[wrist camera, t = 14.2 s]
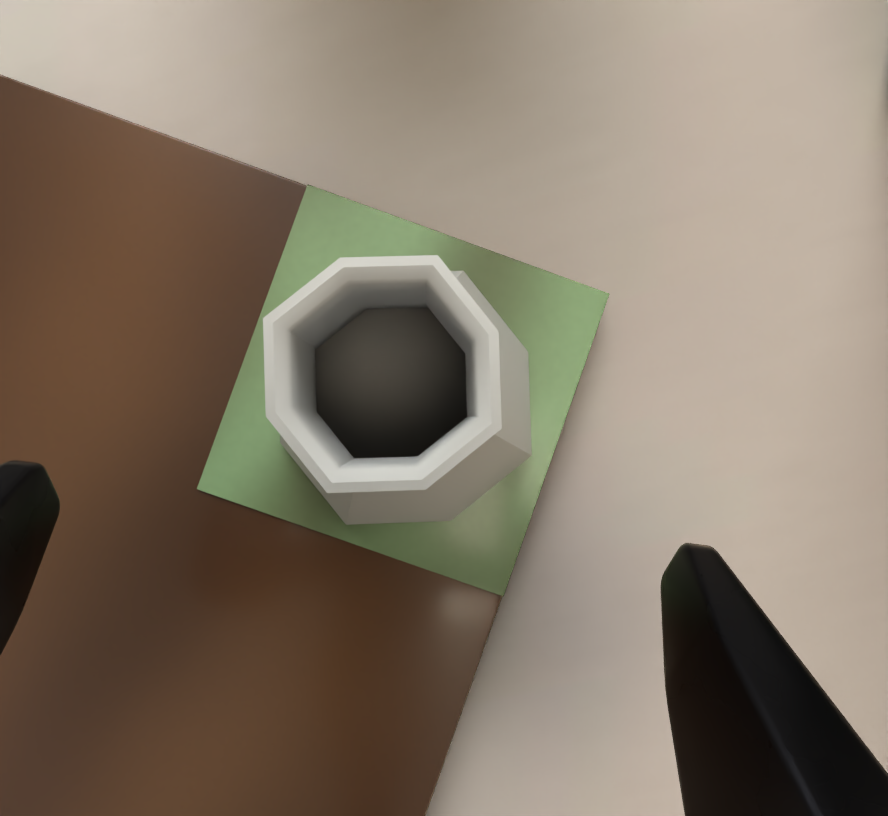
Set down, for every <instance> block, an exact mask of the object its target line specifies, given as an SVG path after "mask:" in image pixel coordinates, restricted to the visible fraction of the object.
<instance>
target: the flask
mask: <svg viewBox="0 0 888 816" xmlns="http://www.w3.org/2000/svg"><path fill="white" fill-rule="evenodd" d="M263 338H264V374H265V409H266V417H267V419H268V420H269V421H270V422H271V424H272V425H273V426H274V427H275V429H276V430H277V431H278V432H279V434H280V443H281V444H282V446H283V447H284V448H285V449H286V451H287V452H288V453H289V454H290V456H291V457H292V458H293V459H294V461H295V462H296V463H297V464H298V466H299V467H300V468H301V469H302V471H303V472H304V473H305V474H306V476H307V477H308V478H309V479H310V481H311V482H312V483H313V484H314V486H315V487H316V488H317V489H318V490H319V492H320V493H321V494H322V495H323V497H324V498H325V499H326V500H327V502H328V503H329V504H330V505H331V507H332V508H333V509H334V510H335V512H336V513H337V514H338V515H339V517H340V518H341V519H342V520H343V522H344V523H345V524H346V525H351V524H379V523H406V522H433V521H451V520H452V519H454V518H455V517H456V516H457V515H459V514H460V513H461V512H462V511H464V510H465V509H466V508H467V507H468V506H470V505H471V504H472V503H473V502H475V501H476V500H477V499H478V498H480V497H481V496H482V495H483V494H485V493H486V492H487V491H488V490H490V489H491V488H492V487H493V486H494V485H496V484H497V483H498V482H499V481H501V480H502V479H503V478H504V477H506V476H507V475H508V474H509V473H511V472H512V471H513V470H514V469H515V468H517V467H518V466H519V465H520V464H522V463H523V462H524V461H525V460H527V459H528V458H529V457H530V456H532V450H531V420H530V390H529V361H528V351H527V350H526V348H525V347H524V346H523V345H522V343H521V342H520V341H519V340H518V338H517V337H516V336H515V335H514V333H513V332H512V331H511V330H510V328H509V327H508V326H507V325H506V323H505V322H504V321H503V320H502V318H501V317H500V316H499V315H498V313H497V312H496V311H495V310H494V308H493V307H492V306H491V305H490V303H489V302H488V301H487V300H486V298H485V297H484V296H483V295H482V293H481V292H480V291H479V290H478V288H477V287H476V286H475V285H474V283H473V282H472V281H471V280H470V278H469V277H468V276H467V275H466V273H465V272H464V271H450V270H449V268H448V267H447V266H446V265H445V263H444V262H443V261H442V260H441V258H440V257H439V256H438V255H421V256H381V257H340V258H339V259H338V260H336V261H335V262H334V263H332V264H331V265H330V266H329V267H327V268H326V269H325V270H324V271H322V272H321V273H320V274H318V275H317V276H316V277H315V278H313V279H312V280H311V281H310V282H308V283H307V284H306V285H304V286H303V287H302V288H301V289H299V290H298V291H297V292H296V293H294V294H293V295H292V296H291V297H289V298H288V299H287V300H285V301H284V302H283V303H282V304H280V305H279V306H278V307H277V308H275V309H274V310H273V311H271V312H270V313H269V314H268V315H266V316H265V317H264V318H263Z"/></svg>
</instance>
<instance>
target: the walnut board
mask: <svg viewBox="0 0 888 816" xmlns="http://www.w3.org/2000/svg"><path fill="white" fill-rule="evenodd" d="M421 255H438V256H439V257H440V258H441V260H442V261H443V262H444V263H445V265H446V266H447V267H448V268H449V270H450V271H464V272H465V273H466V275H467V276H468V277H469V278H470V280H471V281H472V282H473V283H474V285H475V286H476V287H477V288H478V290H479V291H480V292H481V293H482V295H483V296H484V297H485V298H486V300H487V301H488V302H489V303H490V305H491V306H492V307H493V308H494V310H495V311H496V312H497V313H498V315H499V316H500V317H501V318H502V320H503V321H504V322H505V323H506V325H507V326H508V327H509V328H510V330H511V331H512V332H513V333H514V335H515V336H516V337H517V338H518V340H519V341H520V342H521V343H522V345H523V346H524V347H525V348H526V350H527V351H528V361H529V390H530V420H531V450H532V456H530V457H529V458H528V459H527V460H525V461H524V462H523V463H522V464H520V465H519V466H518V467H517V468H515V469H514V470H513V471H512V472H511V473H509V474H508V475H507V476H506V477H504V478H503V479H502V480H501V481H499V482H498V483H497V484H496V485H494V486H493V487H492V488H491V489H490V490H488V491H487V492H486V493H485V494H483V495H482V496H481V497H480V498H478V499H477V500H476V501H475V502H473V503H472V504H471V505H470V506H468V507H467V508H466V509H465V510H464V511H462V512H461V513H460V514H459V515H457V516H456V517H455V518H454V519H452V520H451V521H433V522H406V523H379V524H351V525H346V524H345V523H344V522H343V520H342V519H341V518H340V517H339V515H338V514H337V513H336V512H335V510H334V509H333V508H332V507H331V505H330V504H329V503H328V502H327V500H326V499H325V498H324V497H323V495H322V494H321V493H320V492H319V490H318V489H317V488H316V487H315V486H314V484H313V483H312V482H311V481H310V479H309V478H308V477H307V476H306V474H305V473H304V472H303V471H302V469H301V468H300V467H299V466H298V464H297V463H296V462H295V461H294V459H293V458H292V457H291V456H290V454H289V453H288V452H287V451H286V449H285V448H284V447H283V446H282V444H281V443H280V434H279V432H278V431H277V430H276V429H275V427H274V426H273V425H272V424H271V422H270V421H269V420H268V419H267V417H266V409H265V374H264V338H263V318H264V317H265V316H266V315H268V314H269V313H270V312H271V311H273V310H274V309H275V308H277V307H278V306H279V305H280V304H282V303H283V302H284V301H285V300H287V299H288V298H289V297H291V296H292V295H293V294H294V293H296V292H297V291H298V290H299V289H301V288H302V287H303V286H304V285H306V284H307V283H308V282H310V281H311V280H312V279H313V278H315V277H316V276H317V275H318V274H320V273H321V272H322V271H324V270H325V269H326V268H327V267H329V266H330V265H331V264H332V263H334V262H335V261H336V260H338V259H339V258H340V257H381V256H421ZM608 296H609V293H606V292H603V291H600V290H597V289H595V288H592V287H589V286H586V285H584V284H581V283H578V282H575V281H573V280H570V279H567V278H564V277H562V276H559V275H556V274H553V273H551V272H548V271H545V270H542V269H540V268H537V267H534V266H531V265H529V264H526V263H523V262H520V261H517V260H515V259H512V258H509V257H506V256H504V255H501V254H498V253H495V252H493V251H490V250H487V249H484V248H482V247H479V246H476V245H473V244H471V243H468V242H465V241H462V240H460V239H457V238H454V237H451V236H449V235H446V234H443V233H440V232H437V231H435V230H432V229H429V228H426V227H424V226H421V225H418V224H415V223H413V222H410V221H407V220H404V219H402V218H399V217H396V216H393V215H391V214H388V213H385V212H382V211H380V210H377V209H374V208H371V207H368V206H366V205H363V204H360V203H357V202H355V201H352V200H349V199H346V198H344V197H341V196H338V195H335V194H333V193H330V192H327V191H324V190H322V189H319V188H316V187H313V186H311V185H307V186H306V185H303V184H301V183H298V182H295V181H292V180H290V179H287V178H284V177H281V176H279V175H276V174H273V173H270V172H268V171H265V170H262V169H259V168H257V167H254V166H251V165H248V164H246V163H243V162H240V161H237V160H235V159H232V158H229V157H226V156H223V155H221V154H218V153H215V152H212V151H210V150H207V149H204V148H201V147H199V146H196V145H193V144H190V143H188V142H185V141H182V140H179V139H177V138H174V137H171V136H168V135H166V134H163V133H160V132H157V131H154V130H152V129H149V128H146V127H143V126H141V125H138V124H135V123H132V122H130V121H127V120H124V119H121V118H119V117H116V116H113V115H110V114H108V113H105V112H102V111H99V110H97V109H94V108H91V107H88V106H85V105H83V104H80V103H77V102H74V101H72V100H69V99H66V98H63V97H61V96H58V95H55V94H52V93H50V92H47V91H44V90H41V89H39V88H36V87H33V86H30V85H28V84H25V83H22V82H19V81H17V80H14V79H11V78H8V77H5V76H3V75H0V465H1V464H3V463H5V462H7V461H11V460H20V461H28V462H36V463H40V464H41V465H43V466H44V467H45V469H46V470H47V473H48V475H49V477H50V479H51V481H52V483H53V486H54V488H55V490H56V492H57V494H58V497H59V500H60V511H59V515H58V519H57V521H56V524H55V527H54V529H53V532H52V535H51V537H50V540H49V543H48V545H47V548H46V551H45V553H44V556H43V559H42V561H41V564H40V567H39V569H38V572H37V575H36V577H35V580H34V583H33V585H32V588H31V591H30V593H29V596H28V599H27V601H26V604H25V606H24V608H23V611H22V613H21V616H20V618H19V620H18V622H17V624H16V626H15V628H14V630H13V632H12V634H11V636H10V638H9V640H8V642H7V644H6V646H5V648H4V650H3V652H2V654H1V656H0V816H425V815H426V813H427V810H428V807H429V804H430V801H431V798H432V795H433V793H434V790H435V787H436V784H437V781H438V778H439V775H440V773H441V770H442V767H443V764H444V761H445V758H446V755H447V753H448V750H449V747H450V744H451V741H452V738H453V735H454V733H455V730H456V727H457V724H458V721H459V718H460V715H461V713H462V710H463V707H464V704H465V701H466V698H467V696H468V693H469V690H470V687H471V684H472V681H473V678H474V676H475V673H476V670H477V667H478V664H479V661H480V658H481V656H482V653H483V650H484V647H485V644H486V641H487V638H488V636H489V633H490V630H491V627H492V624H493V621H494V618H495V616H496V613H497V610H498V607H499V604H500V601H501V599H502V596H504V593H505V590H506V588H507V585H508V582H509V579H510V576H511V573H512V570H513V568H514V565H515V562H516V559H517V556H518V553H519V550H520V548H521V545H522V542H523V539H524V536H525V533H526V530H527V528H528V525H529V522H530V519H531V516H532V513H533V510H534V508H535V505H536V502H537V499H538V496H539V493H540V491H541V488H542V485H543V482H544V479H545V476H546V473H547V471H548V468H549V465H550V462H551V459H552V456H553V453H554V451H555V448H556V445H557V442H558V439H559V436H560V433H561V431H562V428H563V425H564V422H565V419H566V416H567V413H568V411H569V408H570V405H571V402H572V399H573V396H574V393H575V391H576V388H577V385H578V382H579V379H580V376H581V374H582V371H583V368H584V365H585V362H586V359H587V356H588V354H589V351H590V348H591V345H592V342H593V339H594V336H595V334H596V331H597V328H598V325H599V322H600V319H601V316H602V314H603V311H604V308H605V305H606V302H607V299H608Z"/></svg>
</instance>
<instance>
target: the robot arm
mask: <svg viewBox="0 0 888 816" xmlns="http://www.w3.org/2000/svg"><path fill="white" fill-rule="evenodd" d="M59 511H60V500H59V497H58V494H57V492H56V490H55V488H54V486H53V483H52V481H51V479H50V477H49V475H48V473H47V470H46V469H45V467H44V466H43V465H41V464H40V463H36V462H28V461H20V460H11V461H7V462H5V463H3V464H1V465H0V656H1V654H2V652H3V650H4V648H5V646H6V644H7V642H8V640H9V638H10V636H11V634H12V632H13V630H14V628H15V626H16V624H17V622H18V620H19V618H20V616H21V613H22V611H23V608H24V606H25V604H26V601H27V599H28V596H29V593H30V591H31V588H32V585H33V583H34V580H35V577H36V575H37V572H38V569H39V567H40V564H41V561H42V559H43V556H44V553H45V551H46V548H47V545H48V543H49V540H50V537H51V535H52V532H53V529H54V527H55V524H56V521H57V519H58V515H59ZM661 607H662V630H663V652H664V674H665V689H666V697H667V705H668V711H669V718H670V724H671V730H672V737H673V743H674V749H675V755H676V762H677V768H678V774H679V781H680V787H681V793H682V800H683V806H684V812H685V816H888V773H887V772H886V771H885V769H884V768H883V767H882V765H881V764H880V763H879V762H878V760H877V759H876V758H875V756H874V755H873V754H872V752H871V751H870V750H869V749H868V747H867V746H866V745H865V743H864V742H863V741H862V739H861V738H860V737H859V736H858V734H857V733H856V732H855V730H854V729H853V728H852V726H851V725H850V724H849V723H848V721H847V720H846V719H845V717H844V716H843V715H842V713H841V712H840V711H839V709H838V708H837V707H836V706H835V704H834V703H833V702H832V700H831V699H830V698H829V696H828V695H827V694H826V693H825V691H824V690H823V689H822V687H821V686H820V685H819V683H818V682H817V681H816V680H815V678H814V677H813V676H812V674H811V673H810V672H809V670H808V669H807V668H806V666H805V665H804V664H803V663H802V661H801V660H800V659H799V657H798V656H797V655H796V653H795V652H794V651H793V650H792V648H791V647H790V646H789V644H788V643H787V642H786V640H785V639H784V638H783V637H782V635H781V634H780V633H779V631H778V630H777V629H776V627H775V626H774V625H773V624H772V622H771V621H770V620H769V618H768V617H767V616H766V614H765V613H764V612H763V610H762V609H761V608H760V607H759V605H758V604H757V603H756V601H755V600H754V599H753V597H752V596H751V595H750V594H749V592H748V591H747V590H746V588H745V587H744V586H743V584H742V583H741V582H740V581H739V579H738V578H737V577H736V575H735V574H734V573H733V571H732V570H731V569H730V567H729V566H728V565H727V564H726V562H725V561H724V560H723V558H722V557H721V556H720V554H719V553H718V552H717V551H716V550H715V549H714V548H712V547H710V546H707V545H699V544H691V543H685V544H683V545H681V546H680V548H679V549H678V551H677V552H676V554H675V555H674V557H673V559H672V560H671V562H670V563H669V565H668V567H667V568H666V570H665V572H664V574H663V576H662V580H661Z"/></svg>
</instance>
